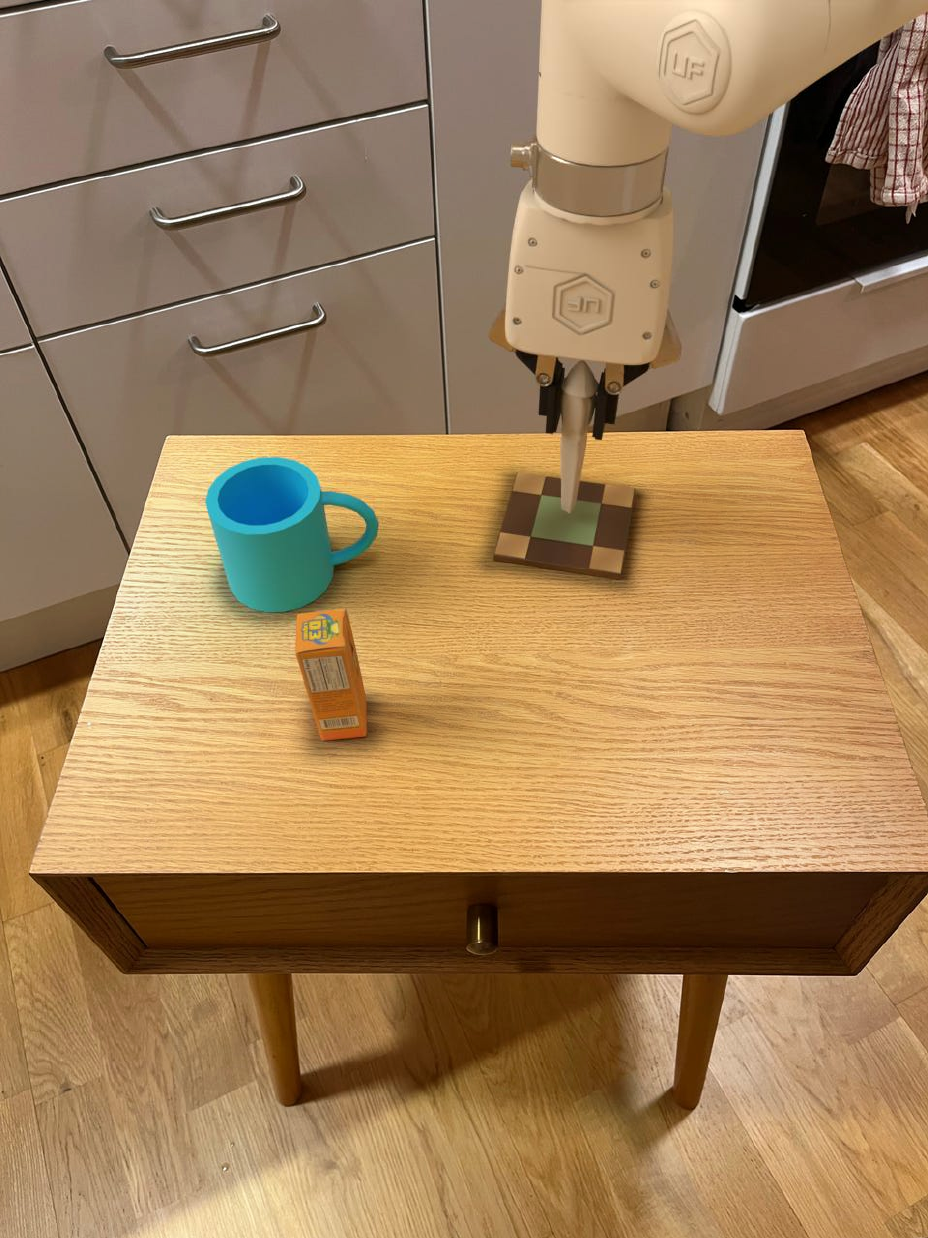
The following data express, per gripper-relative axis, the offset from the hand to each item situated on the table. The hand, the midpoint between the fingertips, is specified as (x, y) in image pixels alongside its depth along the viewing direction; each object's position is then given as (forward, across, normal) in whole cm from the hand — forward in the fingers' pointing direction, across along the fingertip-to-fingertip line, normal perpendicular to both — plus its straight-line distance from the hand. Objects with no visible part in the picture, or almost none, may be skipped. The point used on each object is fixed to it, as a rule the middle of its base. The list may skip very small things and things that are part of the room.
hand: (576, 423), depth 69 cm
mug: (+10, -19, -9) cm, 24 cm away
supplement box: (+11, -12, -22) cm, 27 cm away
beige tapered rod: (+9, 0, 0) cm, 9 cm away
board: (+10, 0, 0) cm, 10 cm away
